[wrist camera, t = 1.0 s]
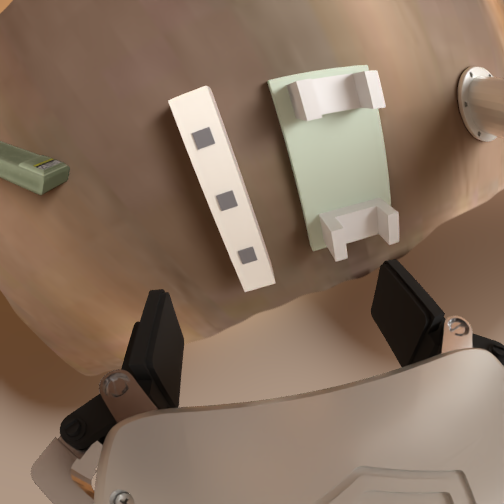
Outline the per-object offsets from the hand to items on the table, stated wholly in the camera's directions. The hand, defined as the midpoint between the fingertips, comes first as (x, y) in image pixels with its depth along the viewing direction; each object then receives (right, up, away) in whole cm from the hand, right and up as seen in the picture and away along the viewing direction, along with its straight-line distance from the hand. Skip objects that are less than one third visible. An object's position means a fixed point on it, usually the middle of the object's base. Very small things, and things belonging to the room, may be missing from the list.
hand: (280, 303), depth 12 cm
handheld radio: (-37, +17, +15) cm, 43 cm away
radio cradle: (+9, +14, +20) cm, 26 cm away
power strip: (-4, +10, +21) cm, 24 cm away
